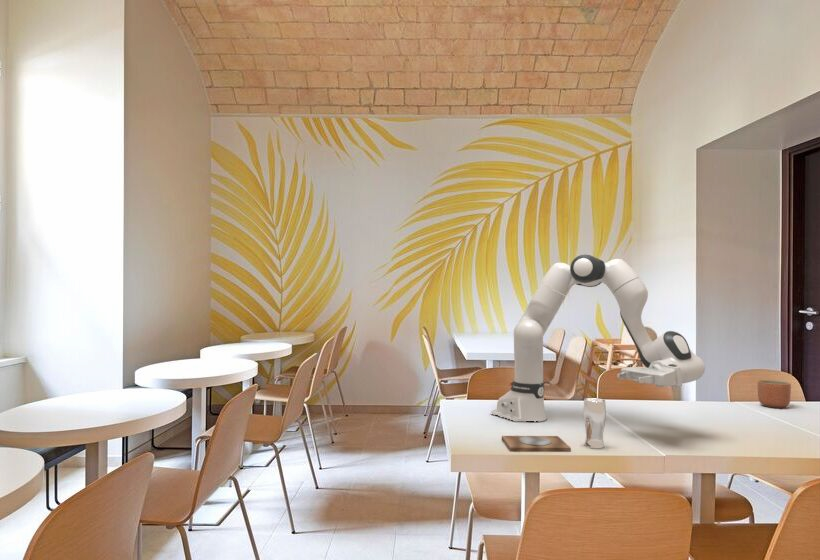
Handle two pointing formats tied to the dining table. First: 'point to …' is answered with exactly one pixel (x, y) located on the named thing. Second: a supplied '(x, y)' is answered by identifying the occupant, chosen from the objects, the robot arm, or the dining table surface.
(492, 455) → the dining table surface
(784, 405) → the planter
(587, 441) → the beer glass
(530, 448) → the walnut board
